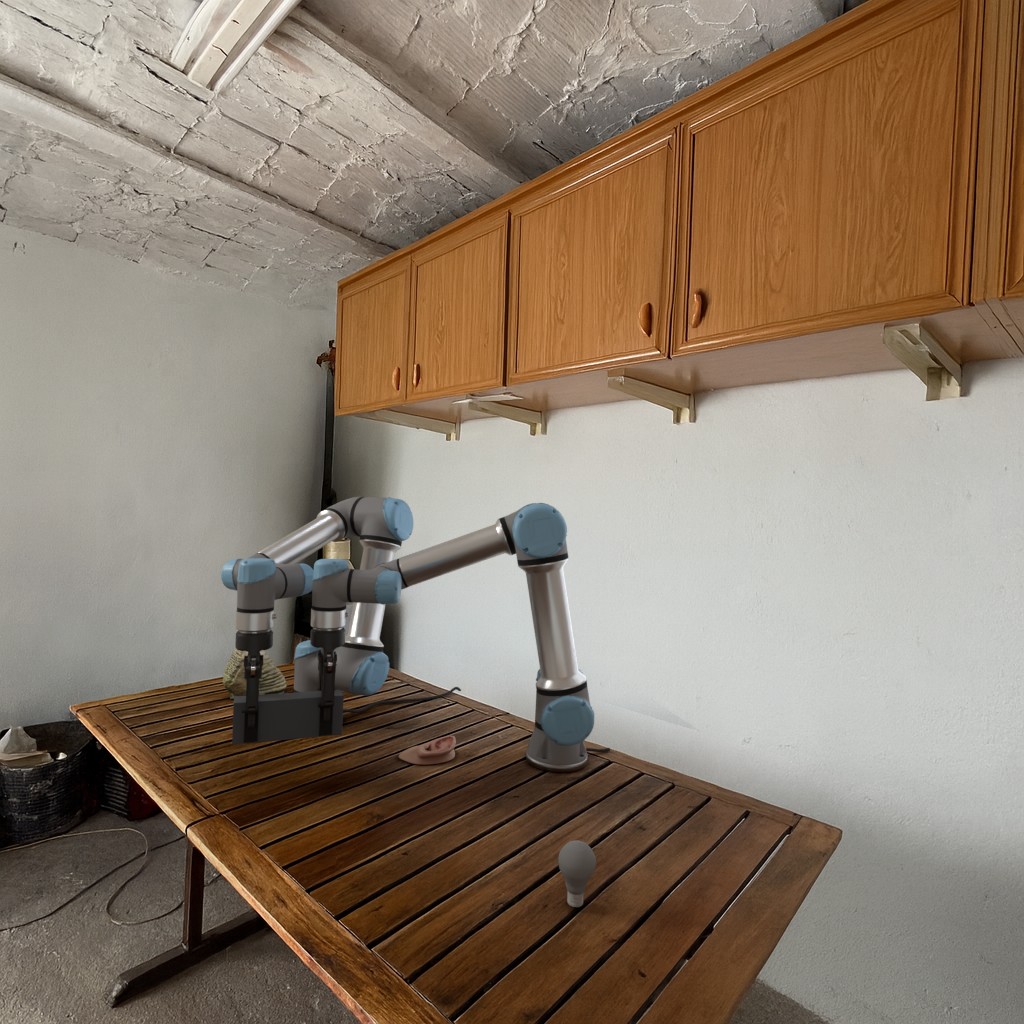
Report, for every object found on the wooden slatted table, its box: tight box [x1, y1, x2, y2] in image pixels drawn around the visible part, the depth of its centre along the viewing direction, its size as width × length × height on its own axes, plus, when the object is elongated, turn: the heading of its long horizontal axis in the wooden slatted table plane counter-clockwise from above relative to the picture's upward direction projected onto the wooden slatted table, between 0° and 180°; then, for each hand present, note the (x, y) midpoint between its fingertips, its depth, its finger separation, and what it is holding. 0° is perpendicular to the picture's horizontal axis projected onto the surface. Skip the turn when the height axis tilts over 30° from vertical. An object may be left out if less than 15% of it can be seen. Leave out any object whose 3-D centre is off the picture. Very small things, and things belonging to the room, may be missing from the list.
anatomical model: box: [398, 735, 457, 766], centre depth 157 cm, size 13×4×12 cm
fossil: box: [222, 648, 288, 699], centre depth 198 cm, size 9×18×15 cm, turn 132°
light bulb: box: [557, 839, 597, 908], centre depth 101 cm, size 6×6×10 cm
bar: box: [231, 689, 345, 746], centre depth 140 cm, size 23×5×9 cm, turn 111°
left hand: (250, 736), depth 138 cm, fingers closed on bar, 5 cm apart
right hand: (324, 730), depth 143 cm, fingers closed on bar, 5 cm apart
